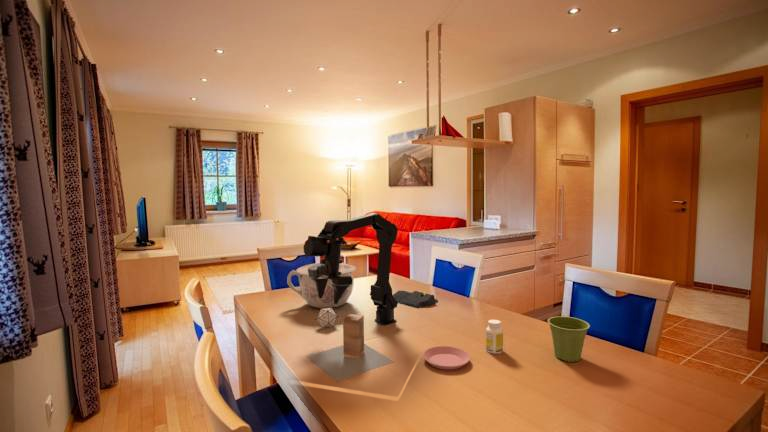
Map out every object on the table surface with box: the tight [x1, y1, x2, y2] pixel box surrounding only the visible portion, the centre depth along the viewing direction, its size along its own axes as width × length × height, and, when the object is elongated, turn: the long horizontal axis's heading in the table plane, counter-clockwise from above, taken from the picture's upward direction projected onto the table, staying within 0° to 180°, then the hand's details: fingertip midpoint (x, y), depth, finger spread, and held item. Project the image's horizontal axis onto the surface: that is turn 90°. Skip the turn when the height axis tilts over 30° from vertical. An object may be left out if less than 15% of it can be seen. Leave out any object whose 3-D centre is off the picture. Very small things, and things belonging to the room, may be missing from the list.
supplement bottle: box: [485, 319, 504, 355], centre depth 126 cm, size 5×5×10 cm
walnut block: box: [342, 313, 365, 358], centre depth 123 cm, size 5×5×12 cm
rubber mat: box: [305, 343, 395, 382], centre depth 120 cm, size 20×20×1 cm
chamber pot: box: [286, 262, 357, 309], centre depth 178 cm, size 28×28×21 cm
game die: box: [314, 306, 339, 330], centre depth 149 cm, size 9×8×10 cm
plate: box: [422, 345, 471, 371], centre depth 119 cm, size 14×14×2 cm
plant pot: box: [547, 315, 591, 363], centre depth 121 cm, size 12×12×11 cm
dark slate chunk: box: [392, 290, 439, 309], centre depth 183 cm, size 15×22×5 cm
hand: (327, 301), depth 135 cm, fingers open, 9 cm apart
